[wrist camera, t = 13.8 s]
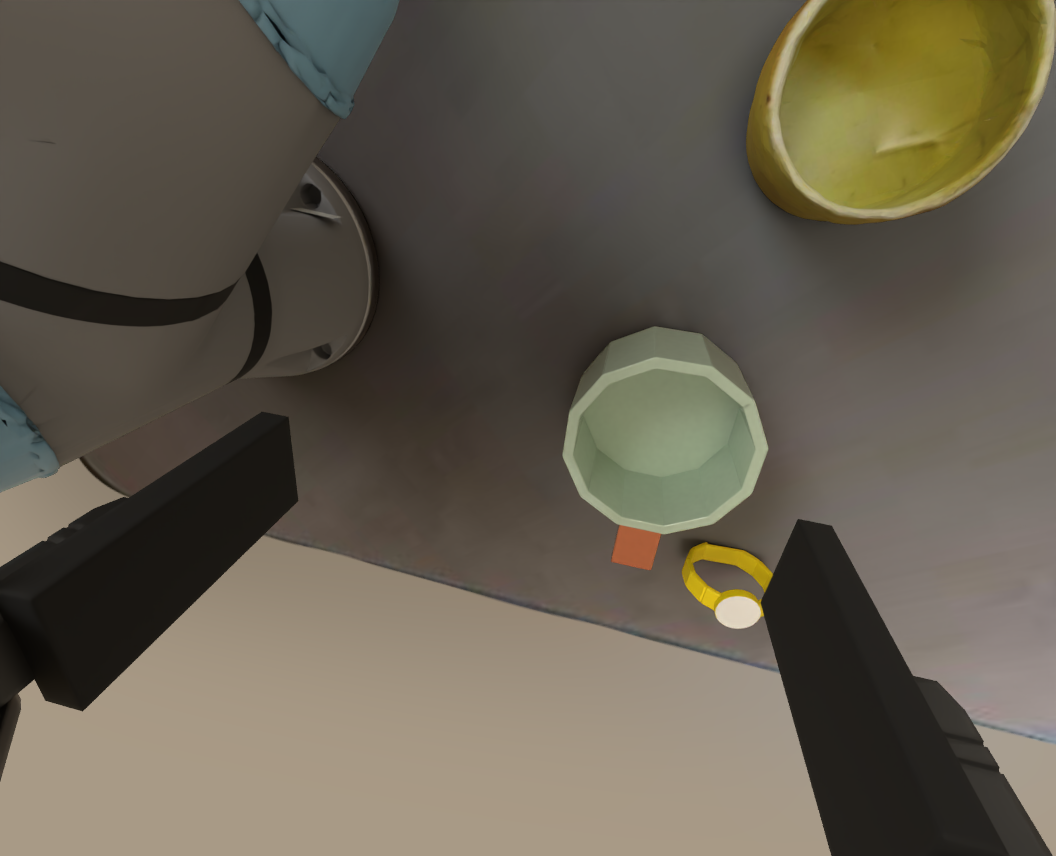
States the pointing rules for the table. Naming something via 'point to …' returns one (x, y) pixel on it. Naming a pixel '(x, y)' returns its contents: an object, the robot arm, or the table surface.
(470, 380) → the table surface
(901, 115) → the mug
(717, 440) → the pale green cup
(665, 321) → the table surface
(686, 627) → the table surface
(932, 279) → the table surface
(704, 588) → the watch
